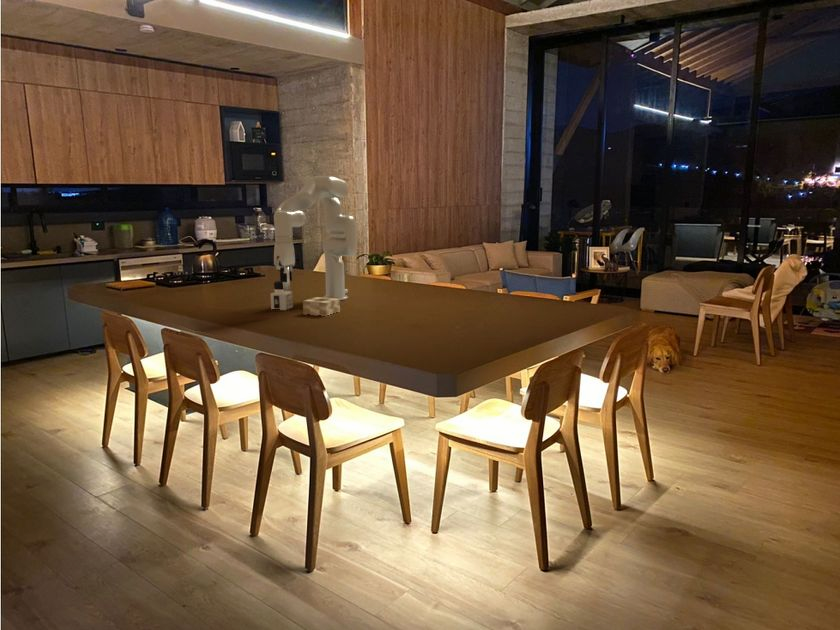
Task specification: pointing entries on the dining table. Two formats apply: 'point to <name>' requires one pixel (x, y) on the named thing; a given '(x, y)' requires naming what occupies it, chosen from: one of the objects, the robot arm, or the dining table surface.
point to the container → (281, 297)
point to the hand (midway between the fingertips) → (286, 281)
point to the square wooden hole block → (321, 306)
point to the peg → (287, 284)
